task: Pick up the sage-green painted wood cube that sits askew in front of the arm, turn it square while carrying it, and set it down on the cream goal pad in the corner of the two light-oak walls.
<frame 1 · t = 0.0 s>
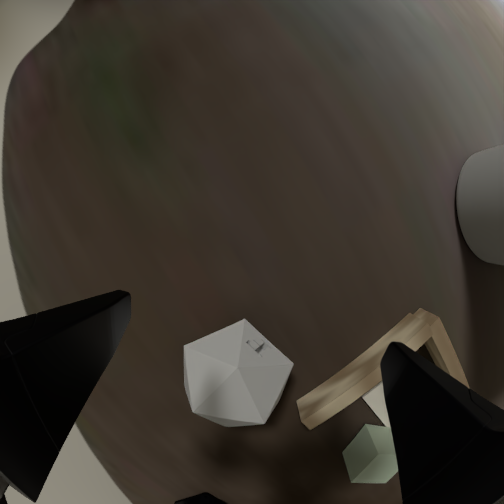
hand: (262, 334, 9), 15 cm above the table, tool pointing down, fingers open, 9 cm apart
wooden corner guide: (392, 397, 25), on the table
die: (237, 356, 25), on the table
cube: (370, 441, 26), on the table, touching wooden corner guide
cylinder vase: (487, 207, 24), on the table
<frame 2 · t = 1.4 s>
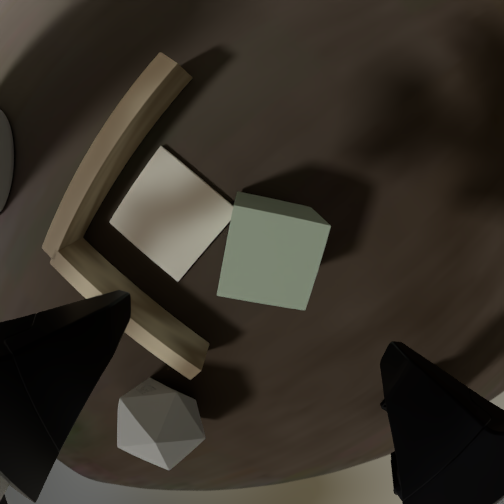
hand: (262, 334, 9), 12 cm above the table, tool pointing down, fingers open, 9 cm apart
wooden corner guide: (175, 229, 20), on the table
die: (168, 395, 26), on the table
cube: (266, 234, 20), on the table, touching wooden corner guide
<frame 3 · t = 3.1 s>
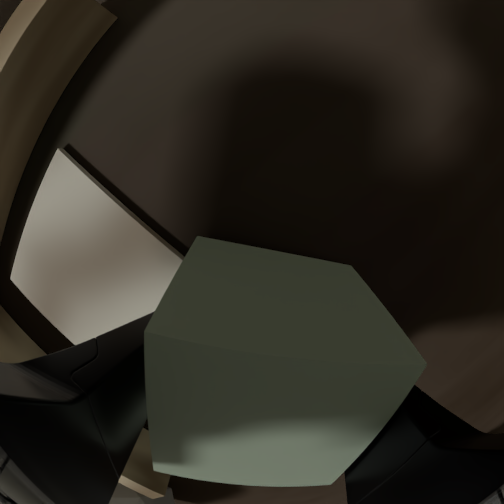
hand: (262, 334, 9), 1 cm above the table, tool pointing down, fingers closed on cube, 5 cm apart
wooden corner guide: (97, 300, 10), on the table
die: (138, 478, 16), on the table
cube: (260, 319, 10), on the table, touching wooden corner guide, gripper
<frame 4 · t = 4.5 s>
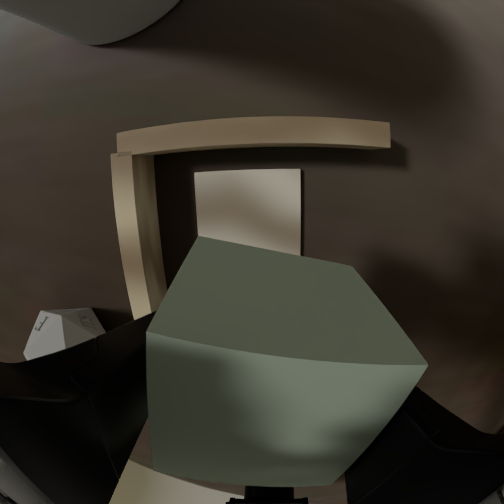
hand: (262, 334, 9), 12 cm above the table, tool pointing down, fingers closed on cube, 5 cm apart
wooden corner guide: (241, 235, 20), on the table
die: (92, 331, 24), on the table
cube: (261, 319, 10), point 11 cm above the table, touching gripper
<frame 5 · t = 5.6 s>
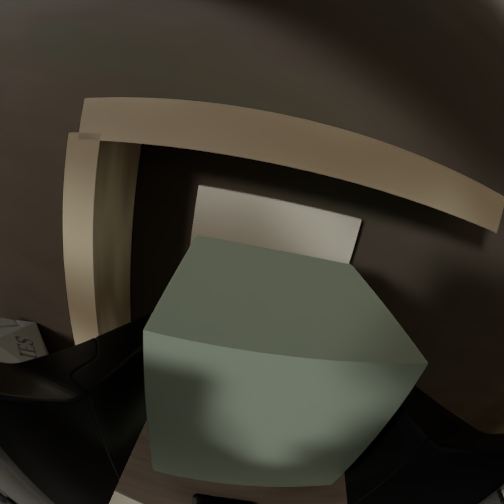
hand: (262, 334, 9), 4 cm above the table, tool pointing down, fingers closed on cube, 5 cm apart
wooden corner guide: (250, 293, 13), on the table
die: (36, 346, 16), on the table
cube: (260, 318, 10), point 4 cm above the table, touching gripper
when the fingers open (3 cm above the table, at t = 6.3 s): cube drops 1 cm, resting on wooden corner guide.
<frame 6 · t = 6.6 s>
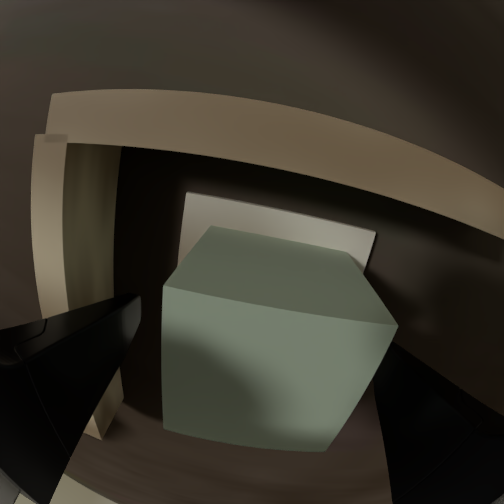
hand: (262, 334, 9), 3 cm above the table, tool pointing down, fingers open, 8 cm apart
wooden corner guide: (247, 315, 12), on the table
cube: (266, 299, 11), resting on wooden corner guide
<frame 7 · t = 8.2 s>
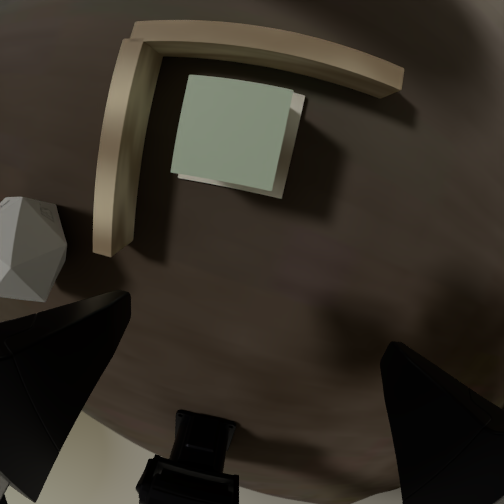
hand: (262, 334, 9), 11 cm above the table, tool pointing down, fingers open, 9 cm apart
wooden corner guide: (229, 148, 18), on the table
die: (50, 232, 21), on the table
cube: (240, 134, 17), resting on wooden corner guide
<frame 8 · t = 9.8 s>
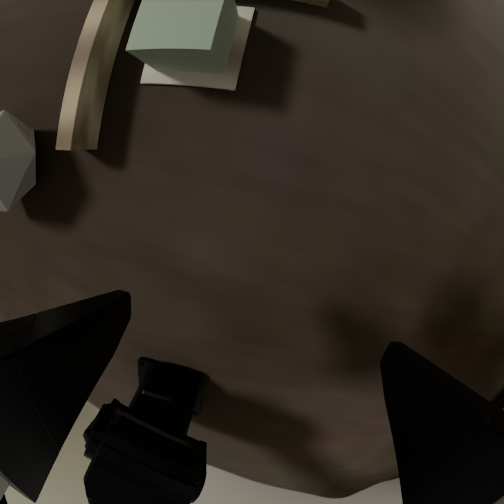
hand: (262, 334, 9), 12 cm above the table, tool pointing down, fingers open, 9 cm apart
wooden corner guide: (187, 54, 16), on the table
die: (26, 159, 19), on the table
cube: (196, 41, 16), resting on wooden corner guide
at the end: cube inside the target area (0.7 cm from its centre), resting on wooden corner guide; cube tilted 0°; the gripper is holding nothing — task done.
